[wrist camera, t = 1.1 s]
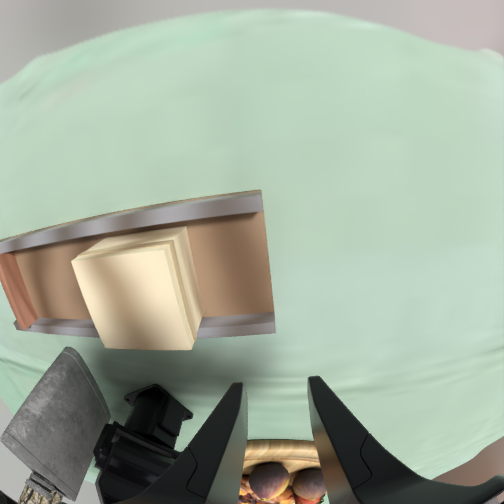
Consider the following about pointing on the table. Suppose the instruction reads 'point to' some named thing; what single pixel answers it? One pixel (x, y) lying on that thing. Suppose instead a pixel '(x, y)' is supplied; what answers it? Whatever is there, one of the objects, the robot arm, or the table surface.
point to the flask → (59, 427)
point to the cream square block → (142, 290)
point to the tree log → (37, 497)
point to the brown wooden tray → (140, 220)
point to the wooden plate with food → (281, 473)
